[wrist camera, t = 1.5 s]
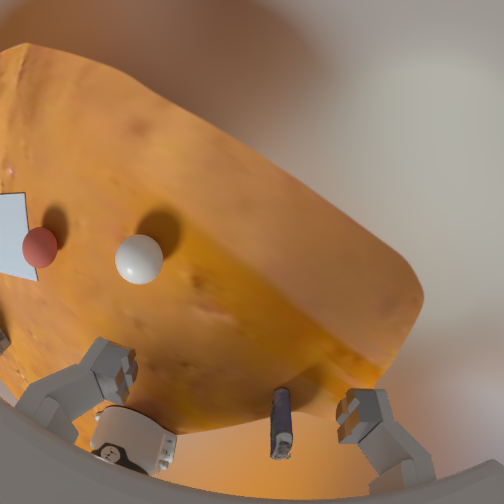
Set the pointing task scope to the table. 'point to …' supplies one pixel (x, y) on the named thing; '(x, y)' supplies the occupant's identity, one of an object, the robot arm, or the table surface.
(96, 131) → the table surface
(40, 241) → the object ball
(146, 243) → the cue ball
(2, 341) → the coffee box
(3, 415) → the robot arm
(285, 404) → the flask
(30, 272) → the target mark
